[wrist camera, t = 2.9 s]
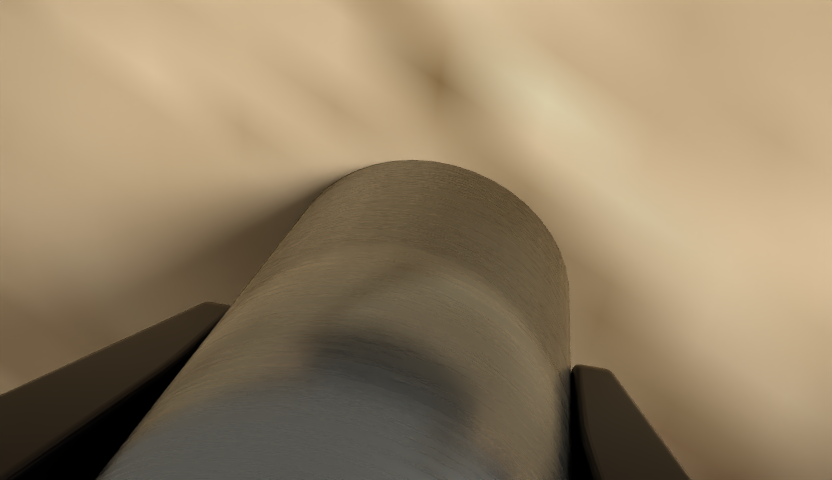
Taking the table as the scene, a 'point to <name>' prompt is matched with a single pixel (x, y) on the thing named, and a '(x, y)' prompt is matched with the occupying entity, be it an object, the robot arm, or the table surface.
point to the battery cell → (381, 347)
